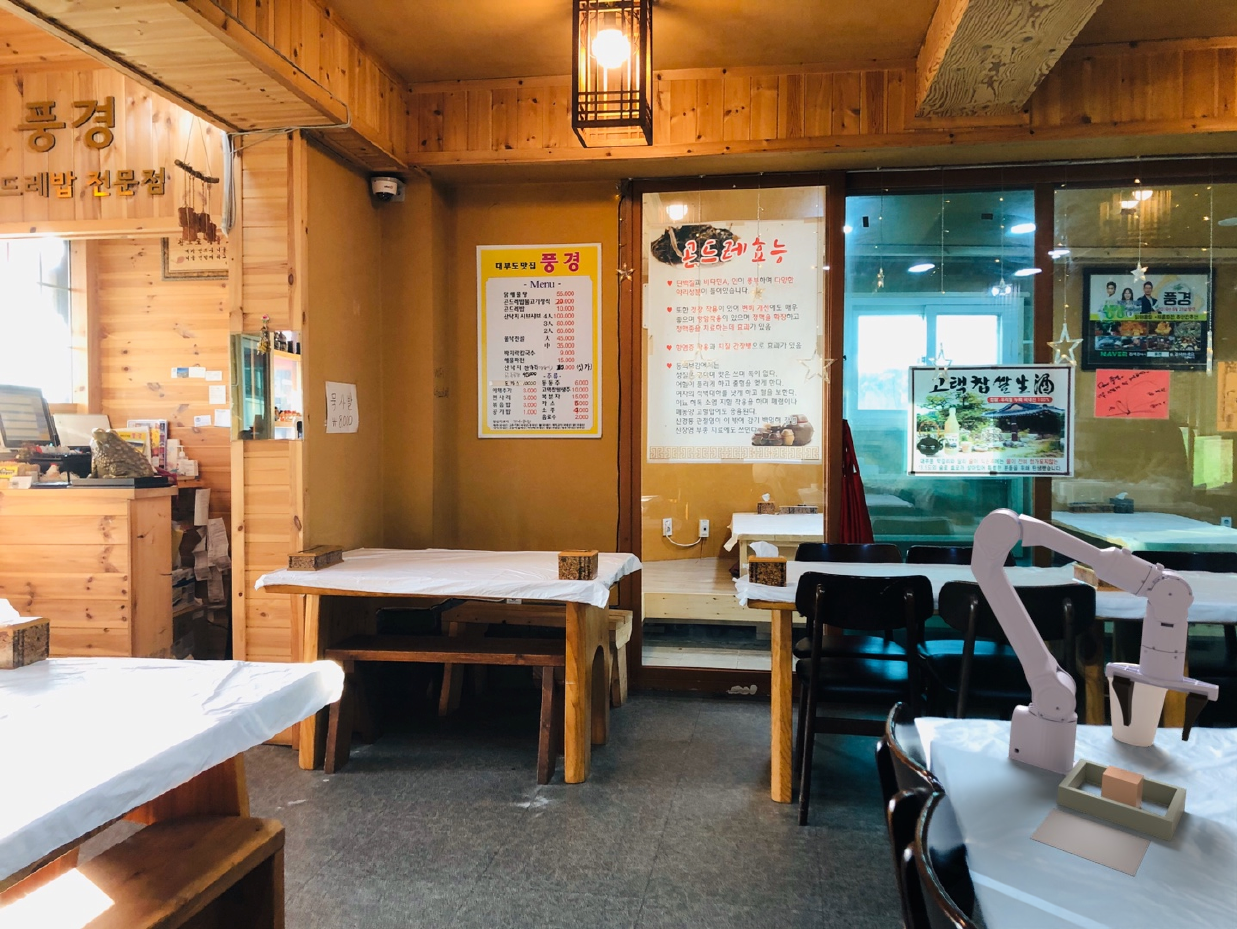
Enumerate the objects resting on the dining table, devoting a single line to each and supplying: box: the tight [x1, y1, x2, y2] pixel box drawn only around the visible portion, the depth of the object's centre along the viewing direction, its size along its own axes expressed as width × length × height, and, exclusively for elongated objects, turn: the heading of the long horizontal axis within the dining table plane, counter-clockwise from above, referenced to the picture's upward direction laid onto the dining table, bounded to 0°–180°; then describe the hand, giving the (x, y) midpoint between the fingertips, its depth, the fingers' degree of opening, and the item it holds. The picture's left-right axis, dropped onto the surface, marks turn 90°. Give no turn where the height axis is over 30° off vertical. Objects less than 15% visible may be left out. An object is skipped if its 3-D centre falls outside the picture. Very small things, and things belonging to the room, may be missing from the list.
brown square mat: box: [1029, 807, 1151, 877], centre depth 106 cm, size 12×12×1 cm
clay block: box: [1100, 765, 1145, 809], centre depth 116 cm, size 4×4×5 cm
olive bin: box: [1056, 758, 1187, 842], centre depth 116 cm, size 14×14×4 cm
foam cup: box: [1107, 662, 1169, 748], centre depth 144 cm, size 10×9×13 cm
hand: (1155, 731), depth 123 cm, fingers open, 7 cm apart
